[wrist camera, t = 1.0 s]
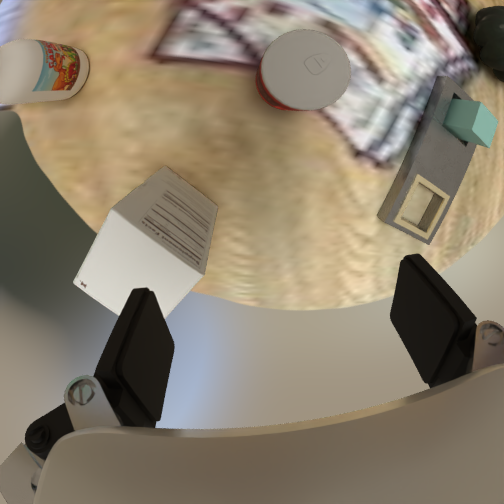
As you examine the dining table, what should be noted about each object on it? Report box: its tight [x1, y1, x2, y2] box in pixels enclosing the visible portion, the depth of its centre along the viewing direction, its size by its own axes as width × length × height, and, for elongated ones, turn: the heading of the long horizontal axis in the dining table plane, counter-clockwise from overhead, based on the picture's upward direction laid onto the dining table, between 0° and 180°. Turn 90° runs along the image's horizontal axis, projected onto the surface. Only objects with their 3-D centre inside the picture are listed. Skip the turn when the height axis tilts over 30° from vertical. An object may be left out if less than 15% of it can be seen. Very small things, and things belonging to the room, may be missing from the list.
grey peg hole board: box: [377, 76, 477, 245], centre depth 32 cm, size 24×10×3 cm, turn 159°
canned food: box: [256, 29, 351, 111], centre depth 24 cm, size 8×8×11 cm
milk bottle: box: [0, 39, 89, 104], centre depth 17 cm, size 8×8×20 cm
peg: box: [442, 99, 498, 148], centre depth 27 cm, size 4×4×8 cm
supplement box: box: [73, 166, 218, 319], centre depth 29 cm, size 10×9×17 cm
